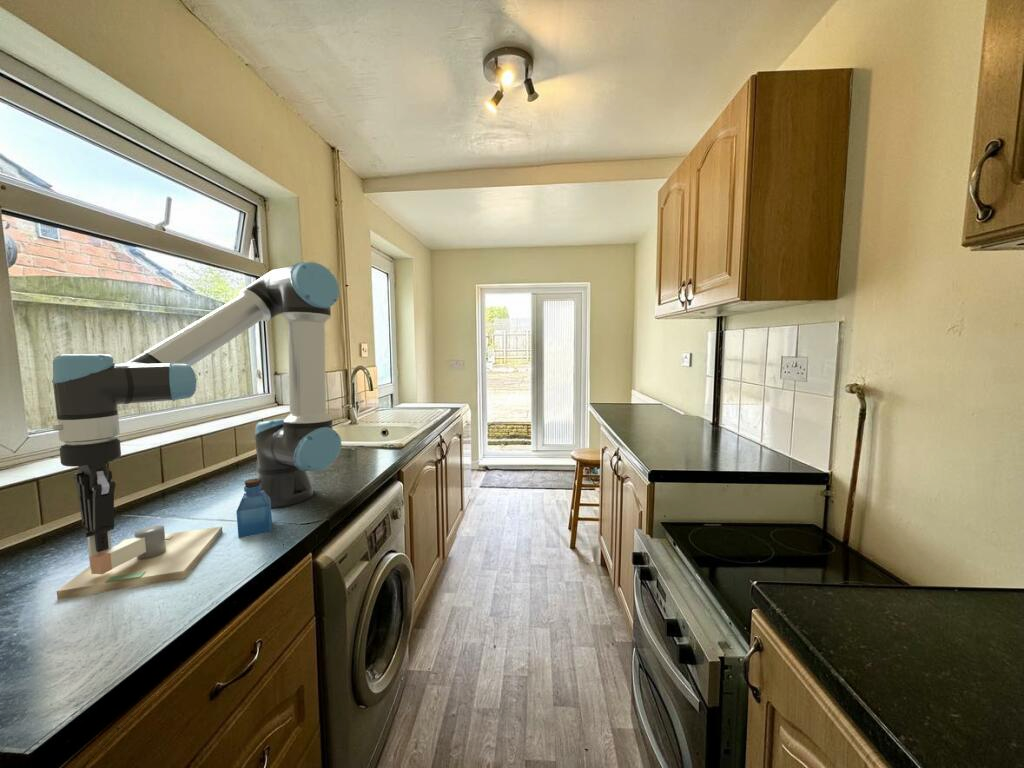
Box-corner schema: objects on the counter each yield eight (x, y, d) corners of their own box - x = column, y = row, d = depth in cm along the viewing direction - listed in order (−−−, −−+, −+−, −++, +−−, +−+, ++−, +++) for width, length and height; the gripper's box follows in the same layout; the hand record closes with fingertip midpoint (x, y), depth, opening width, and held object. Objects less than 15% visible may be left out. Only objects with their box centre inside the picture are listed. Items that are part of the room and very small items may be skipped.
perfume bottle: (238, 538, 90) (234, 486, 89) (242, 527, 96) (238, 479, 95) (270, 532, 93) (266, 482, 92) (271, 522, 99) (268, 474, 98)
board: (222, 532, 93) (221, 525, 93) (184, 578, 74) (183, 569, 74) (125, 546, 87) (124, 538, 87) (57, 599, 69) (56, 590, 68)
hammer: (152, 548, 83) (150, 525, 83) (172, 548, 83) (169, 525, 82) (86, 581, 71) (83, 554, 71) (109, 582, 71) (106, 555, 70)
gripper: (49, 439, 72) (61, 565, 74) (70, 449, 65) (83, 586, 67) (107, 432, 78) (117, 548, 80) (131, 440, 72) (141, 566, 74)
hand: (101, 565), depth 74 cm, fingers closed
